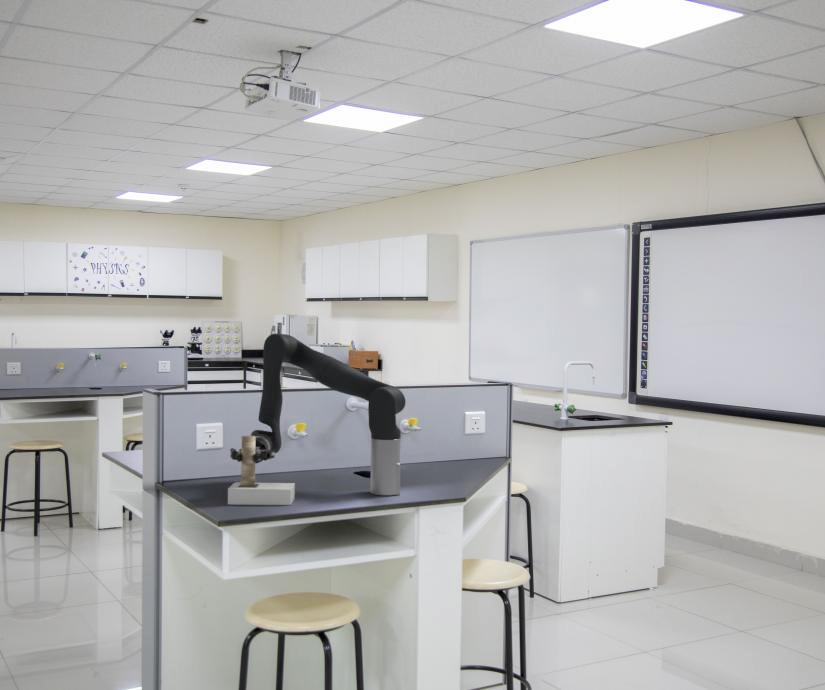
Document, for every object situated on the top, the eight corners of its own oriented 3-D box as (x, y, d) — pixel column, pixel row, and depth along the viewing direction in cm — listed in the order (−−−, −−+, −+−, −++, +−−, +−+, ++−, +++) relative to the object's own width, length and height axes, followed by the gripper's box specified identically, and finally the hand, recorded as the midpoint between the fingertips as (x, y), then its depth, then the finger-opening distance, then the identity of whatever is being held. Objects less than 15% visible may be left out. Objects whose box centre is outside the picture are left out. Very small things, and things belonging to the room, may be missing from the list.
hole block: (294, 498, 253) (294, 483, 253) (290, 505, 243) (290, 489, 243) (234, 497, 253) (234, 482, 253) (227, 504, 243) (227, 488, 243)
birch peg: (255, 486, 250) (256, 435, 250) (253, 488, 246) (254, 437, 246) (242, 485, 250) (243, 435, 250) (239, 488, 246) (240, 437, 246)
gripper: (234, 436, 262) (222, 445, 245) (279, 437, 262) (271, 445, 245) (233, 460, 262) (221, 470, 245) (279, 461, 262) (271, 471, 245)
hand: (246, 458), depth 245 cm, fingers closed on birch peg, 4 cm apart
